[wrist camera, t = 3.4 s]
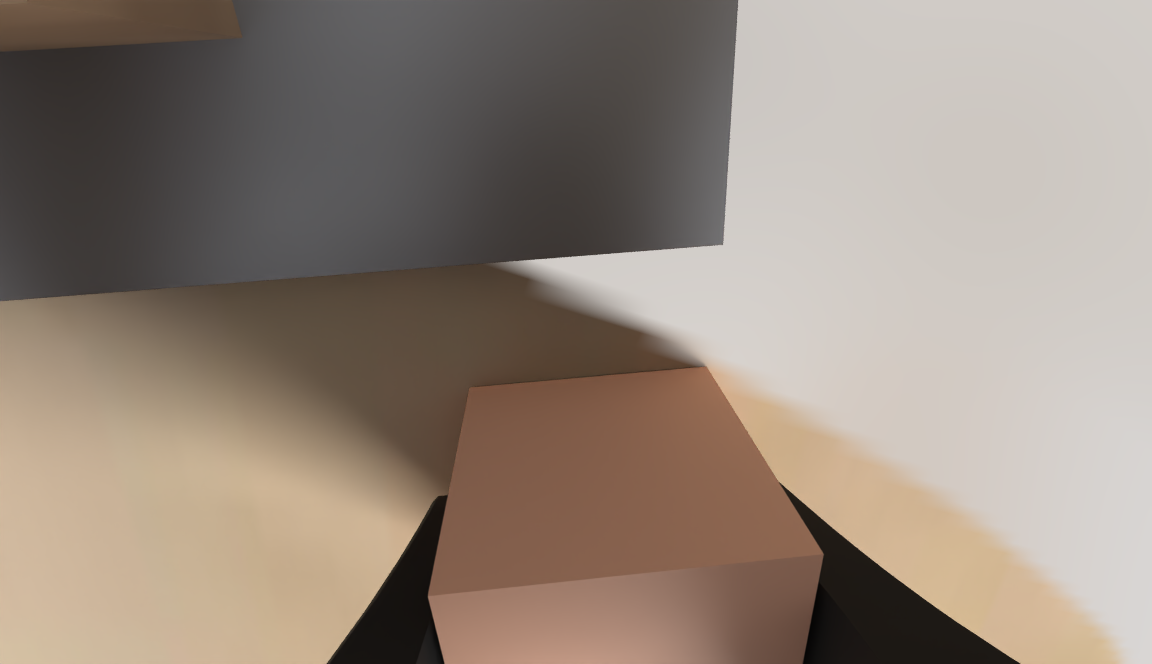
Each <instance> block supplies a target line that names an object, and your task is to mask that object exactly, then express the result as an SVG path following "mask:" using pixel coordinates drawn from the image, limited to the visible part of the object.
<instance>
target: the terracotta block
mask: <svg viewBox="0 0 1152 664" xmlns="http://www.w3.org/2000/svg"><path fill="white" fill-rule="evenodd" d="M823 555H824V554H823V552H822V551H821V549H820V547H819V546H818V544H817V543H816V541H815V539H814V538H813V536H812V535H811V533H810V531H809V530H808V528H807V527H806V525H805V523H804V522H803V520H802V519H801V517H800V515H799V514H798V512H797V511H796V509H795V507H794V506H793V504H792V503H791V501H790V499H789V498H788V496H787V495H786V493H785V491H784V490H783V488H782V487H781V485H780V483H779V482H778V480H777V479H776V477H775V475H774V474H773V472H772V471H771V469H770V467H769V466H768V464H767V463H766V461H765V459H764V458H763V456H762V455H761V453H760V451H759V450H758V448H757V447H756V445H755V443H754V442H753V440H752V439H751V437H750V435H749V434H748V432H747V431H746V429H745V427H744V426H743V424H742V423H741V421H740V419H739V418H738V416H737V415H736V413H735V411H734V410H733V408H732V407H731V405H730V403H729V402H728V400H727V399H726V397H725V395H724V394H723V392H722V391H721V389H720V387H719V386H718V384H717V383H716V381H715V379H714V378H713V376H712V375H711V373H710V371H709V370H708V368H707V367H695V368H684V369H672V370H661V371H650V372H639V373H627V374H616V375H605V376H594V377H582V378H571V379H560V380H548V381H537V382H526V383H515V384H503V385H492V386H481V387H470V388H469V393H468V398H467V403H466V408H465V413H464V418H463V423H462V428H461V433H460V438H459V443H458V448H457V453H456V458H455V463H454V468H453V473H452V478H451V483H450V488H449V493H448V498H447V503H446V508H445V513H444V518H443V523H442V528H441V533H440V538H439V543H438V548H437V553H436V557H435V562H434V567H433V572H432V577H431V582H430V587H429V592H428V599H429V603H430V607H431V611H432V615H433V619H434V623H435V627H436V631H437V635H438V639H439V643H440V647H441V651H442V655H443V659H444V663H445V664H803V659H804V654H805V649H806V644H807V638H808V633H809V628H810V623H811V618H812V612H813V607H814V602H815V597H816V592H817V586H818V581H819V576H820V571H821V566H822V560H823Z"/></svg>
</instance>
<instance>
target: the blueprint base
mask: <svg viewBox="0 0 1152 664" xmlns="http://www.w3.org/2000/svg"><path fill="white" fill-rule="evenodd" d="M737 8H738V0H0V301H9V300H21V299H34V298H47V297H60V296H73V295H85V294H98V293H111V292H124V291H137V290H149V289H162V288H175V287H188V286H201V285H214V284H226V283H239V282H252V281H265V280H278V279H290V278H303V277H316V276H329V275H342V274H354V273H367V272H380V271H393V270H406V269H418V268H431V267H444V266H457V265H470V264H483V263H495V262H508V261H521V260H534V259H547V258H559V257H572V256H585V255H598V254H611V253H622V252H635V251H648V250H662V249H674V248H687V247H700V246H713V245H723V236H724V220H725V204H726V188H727V171H728V156H729V140H730V124H731V123H730V122H731V106H732V90H733V74H734V57H735V43H736V42H735V41H736V26H737V10H738V9H737Z"/></svg>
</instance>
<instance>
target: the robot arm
mask: <svg viewBox="0 0 1152 664" xmlns="http://www.w3.org/2000/svg"><path fill="white" fill-rule="evenodd" d="M779 483H780V482H779ZM780 485H781V487H782V488H783V490H784V491H785V493H786V495H787V496H788V498H789V499H790V501H791V503H792V504H793V506H794V507H795V509H796V511H797V512H798V514H799V515H800V517H801V519H802V520H803V522H804V523H805V525H806V527H807V528H808V530H809V531H810V533H811V535H812V536H813V538H814V539H815V541H816V543H817V544H818V546H819V547H820V549H821V551H822V552H823V554H824V555H823V560H822V566H821V571H820V576H819V581H818V586H817V592H816V597H815V602H814V607H813V612H812V618H811V623H810V628H809V633H808V638H807V644H806V649H805V654H804V659H803V664H1020V663H1019V662H1017V661H1015V660H1014V659H1012V658H1011V657H1009V656H1007V655H1006V654H1004V653H1003V652H1001V651H1000V650H998V649H997V648H995V647H994V646H992V645H991V644H989V643H988V642H986V641H985V640H983V639H982V638H980V637H979V636H977V635H976V634H974V633H973V632H971V631H970V630H968V629H967V628H965V627H963V626H962V625H960V624H959V623H957V622H956V621H954V620H953V619H952V618H950V617H949V616H947V615H946V614H944V613H943V612H941V611H940V610H939V609H937V608H936V607H934V606H933V605H932V604H930V603H929V602H927V601H926V600H925V599H923V598H922V597H921V596H919V595H918V594H916V593H915V592H914V591H912V590H911V589H910V588H908V587H907V586H906V585H904V584H903V583H902V582H900V581H899V580H898V579H896V578H895V577H894V576H892V575H891V574H890V573H888V572H887V571H886V570H884V569H883V568H882V567H880V566H879V565H878V564H877V563H875V562H874V561H873V560H871V559H870V558H869V557H868V556H866V555H865V554H864V553H863V552H861V551H860V550H859V549H858V548H856V547H855V546H854V545H853V544H851V543H850V542H849V541H848V540H846V539H845V538H844V537H843V536H842V535H840V534H839V533H838V532H837V531H835V530H834V529H833V528H832V527H831V526H829V525H828V524H827V523H826V522H825V521H824V520H822V519H821V518H820V517H819V516H818V515H817V514H815V513H814V512H813V511H812V510H811V509H810V508H808V507H807V506H806V505H805V504H804V503H803V502H801V501H800V500H799V499H798V498H797V497H796V496H794V495H793V494H792V493H791V492H790V491H789V490H788V489H786V488H785V487H784V486H783V485H782V484H781V483H780ZM447 498H448V495H446V496H438V497H437V498H436V499H435V500H434V501H433V503H432V504H431V506H430V508H429V510H428V512H427V513H426V515H425V517H424V519H423V520H422V522H421V524H420V526H419V527H418V529H417V531H416V532H415V534H414V536H413V537H412V539H411V541H410V542H409V544H408V546H407V547H406V549H405V551H404V552H403V554H402V555H401V557H400V559H399V560H398V562H397V563H396V565H395V567H394V568H393V570H392V571H391V573H390V574H389V576H388V577H387V579H386V580H385V582H384V583H383V585H382V586H381V588H380V589H379V591H378V592H377V594H376V595H375V597H374V598H373V600H372V601H371V603H370V604H369V606H368V607H367V609H366V610H365V612H364V613H363V615H362V616H361V617H360V619H359V620H358V621H357V623H356V624H355V626H354V627H353V628H352V630H351V631H350V632H349V634H348V635H347V637H346V638H345V639H344V641H343V642H342V643H341V645H340V646H339V648H338V649H337V650H336V652H335V653H334V654H333V656H332V657H331V659H330V660H329V661H328V663H327V664H445V663H444V659H443V655H442V651H441V647H440V643H439V639H438V635H437V631H436V627H435V623H434V619H433V615H432V611H431V607H430V603H429V599H428V592H429V587H430V582H431V577H432V572H433V567H434V562H435V557H436V553H437V548H438V543H439V538H440V533H441V528H442V523H443V518H444V513H445V508H446V503H447Z"/></svg>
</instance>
